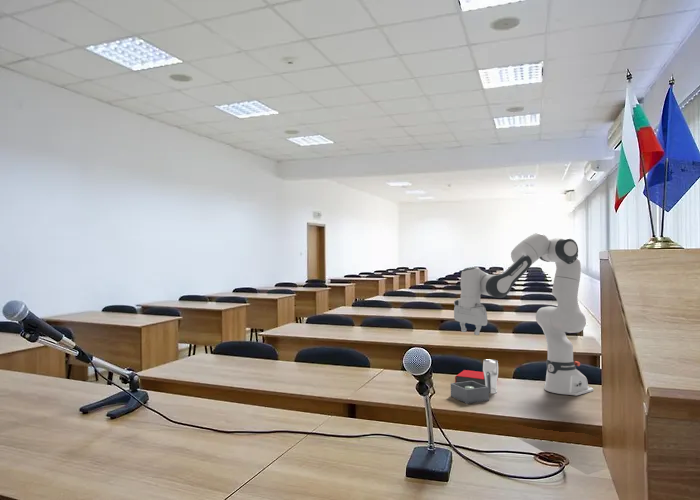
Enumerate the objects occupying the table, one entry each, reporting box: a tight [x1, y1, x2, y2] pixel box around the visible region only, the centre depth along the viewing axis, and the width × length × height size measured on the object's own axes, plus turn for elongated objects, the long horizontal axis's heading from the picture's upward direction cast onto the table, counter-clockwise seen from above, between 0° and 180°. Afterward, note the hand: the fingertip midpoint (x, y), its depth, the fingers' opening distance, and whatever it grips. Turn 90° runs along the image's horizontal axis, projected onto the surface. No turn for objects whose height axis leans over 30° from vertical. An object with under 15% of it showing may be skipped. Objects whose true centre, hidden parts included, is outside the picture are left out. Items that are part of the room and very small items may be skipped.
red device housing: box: [454, 369, 499, 385], centre depth 241 cm, size 18×14×5 cm
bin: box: [450, 381, 490, 405], centre depth 216 cm, size 12×12×6 cm
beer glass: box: [482, 358, 499, 394], centre depth 225 cm, size 7×7×15 cm
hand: (470, 333), depth 216 cm, fingers open, 8 cm apart
